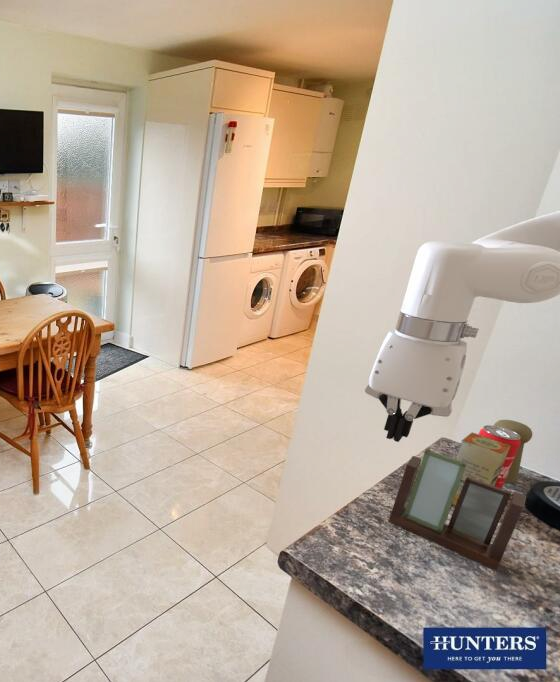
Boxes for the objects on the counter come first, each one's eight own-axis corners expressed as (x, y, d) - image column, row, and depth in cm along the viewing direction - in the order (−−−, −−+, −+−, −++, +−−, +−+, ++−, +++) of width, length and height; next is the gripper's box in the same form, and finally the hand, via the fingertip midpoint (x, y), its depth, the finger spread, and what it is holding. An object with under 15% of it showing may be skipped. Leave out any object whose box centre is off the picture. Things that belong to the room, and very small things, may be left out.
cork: (524, 478, 85) (545, 428, 81) (506, 485, 83) (527, 434, 79) (485, 461, 90) (503, 413, 87) (467, 467, 88) (486, 418, 85)
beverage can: (487, 483, 83) (509, 427, 80) (505, 500, 79) (530, 441, 75) (454, 478, 85) (474, 422, 81) (470, 495, 80) (493, 437, 76)
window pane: (403, 516, 72) (425, 450, 68) (404, 514, 72) (426, 448, 68) (441, 532, 69) (466, 464, 65) (442, 530, 69) (467, 462, 65)
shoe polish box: (486, 505, 78) (510, 445, 74) (477, 515, 75) (501, 454, 71) (450, 489, 81) (471, 432, 78) (440, 499, 79) (462, 440, 75)
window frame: (388, 521, 73) (406, 464, 70) (394, 511, 76) (412, 455, 72) (496, 570, 64) (523, 507, 60) (499, 556, 66) (526, 495, 63)
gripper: (502, 335, 62) (460, 449, 68) (376, 313, 73) (349, 413, 79) (495, 346, 57) (450, 467, 63) (361, 320, 68) (334, 426, 74)
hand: (394, 437), depth 71 cm, fingers closed
